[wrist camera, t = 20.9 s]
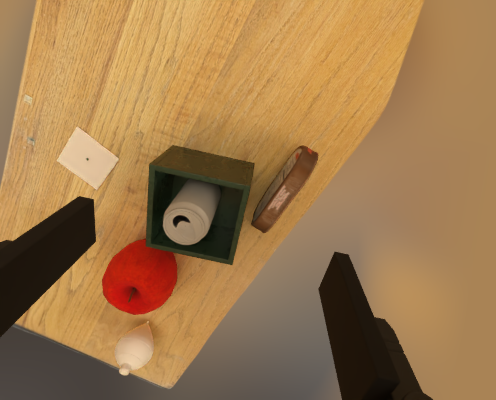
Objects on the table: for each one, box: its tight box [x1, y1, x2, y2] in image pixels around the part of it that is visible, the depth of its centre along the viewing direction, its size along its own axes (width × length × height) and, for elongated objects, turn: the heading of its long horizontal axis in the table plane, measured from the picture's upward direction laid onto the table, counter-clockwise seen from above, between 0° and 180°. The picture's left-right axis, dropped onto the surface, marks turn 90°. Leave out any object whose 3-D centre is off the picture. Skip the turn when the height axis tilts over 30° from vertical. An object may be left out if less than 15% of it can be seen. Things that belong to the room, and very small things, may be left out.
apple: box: [102, 239, 177, 315], centre depth 48 cm, size 12×12×13 cm
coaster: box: [57, 126, 119, 190], centre depth 46 cm, size 8×8×1 cm
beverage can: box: [163, 178, 221, 245], centre depth 42 cm, size 6×6×12 cm
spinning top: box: [115, 321, 154, 375], centre depth 58 cm, size 8×8×12 cm
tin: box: [251, 146, 318, 233], centre depth 42 cm, size 15×3×8 cm, turn 150°
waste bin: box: [146, 145, 254, 265], centre depth 43 cm, size 14×14×10 cm
